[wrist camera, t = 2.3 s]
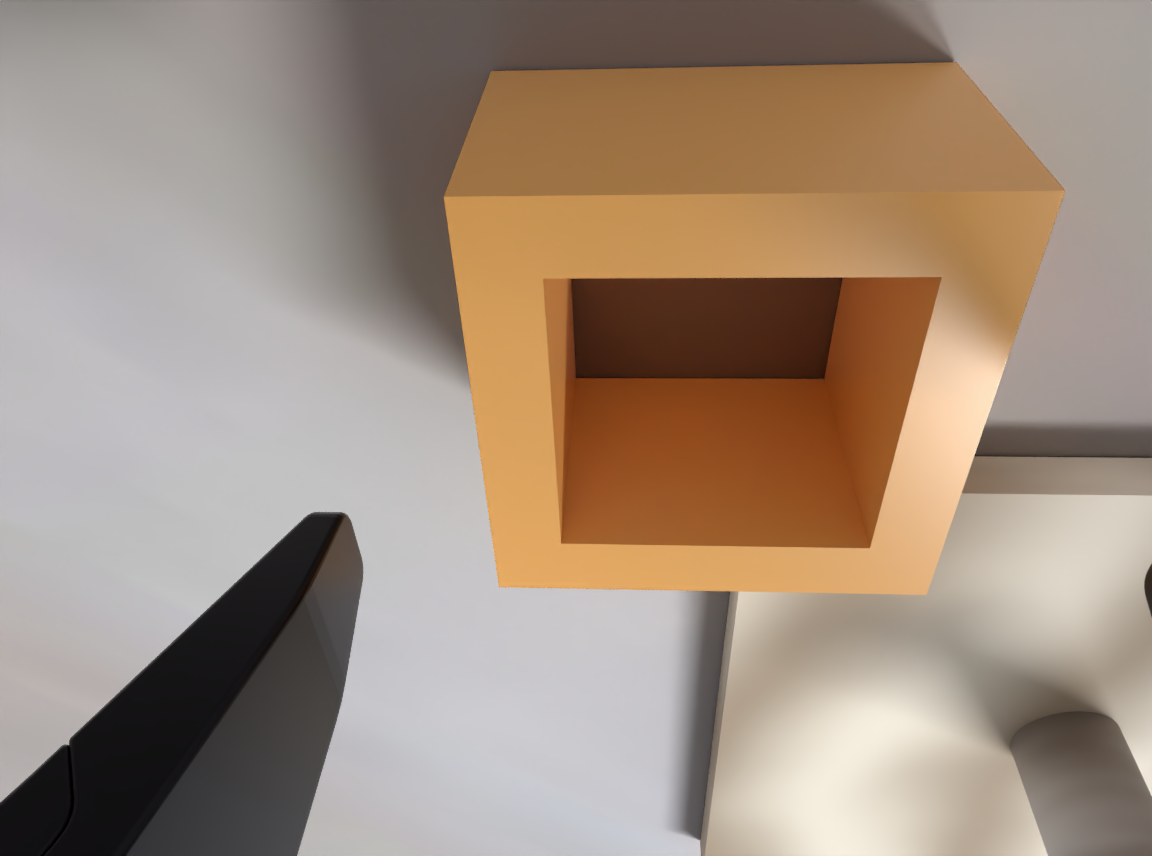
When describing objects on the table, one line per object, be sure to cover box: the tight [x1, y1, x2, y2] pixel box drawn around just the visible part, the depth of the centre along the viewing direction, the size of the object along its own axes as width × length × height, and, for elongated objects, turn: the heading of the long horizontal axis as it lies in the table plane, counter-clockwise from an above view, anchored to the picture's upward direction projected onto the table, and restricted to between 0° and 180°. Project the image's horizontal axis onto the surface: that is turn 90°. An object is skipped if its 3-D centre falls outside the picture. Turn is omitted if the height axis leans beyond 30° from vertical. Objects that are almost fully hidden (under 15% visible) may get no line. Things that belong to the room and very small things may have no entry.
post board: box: [700, 456, 1152, 856], centre depth 19 cm, size 16×16×7 cm
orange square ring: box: [444, 62, 1065, 595], centre depth 13 cm, size 6×6×4 cm
